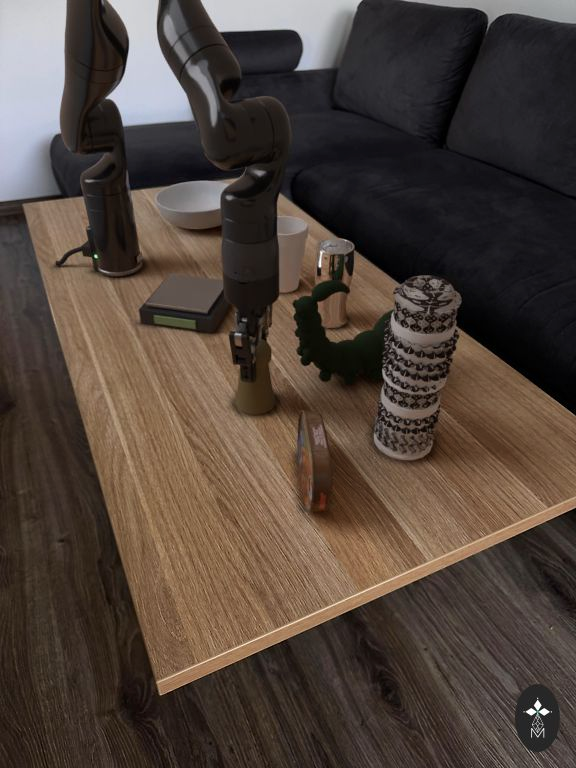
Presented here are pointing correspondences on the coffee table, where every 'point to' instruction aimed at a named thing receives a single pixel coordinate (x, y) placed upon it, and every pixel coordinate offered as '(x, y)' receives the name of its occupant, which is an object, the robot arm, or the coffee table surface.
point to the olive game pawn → (257, 385)
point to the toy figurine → (345, 354)
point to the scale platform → (187, 294)
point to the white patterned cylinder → (415, 365)
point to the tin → (314, 461)
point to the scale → (185, 317)
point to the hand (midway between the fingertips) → (254, 368)
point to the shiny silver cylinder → (334, 277)
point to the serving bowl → (191, 204)
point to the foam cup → (290, 251)
